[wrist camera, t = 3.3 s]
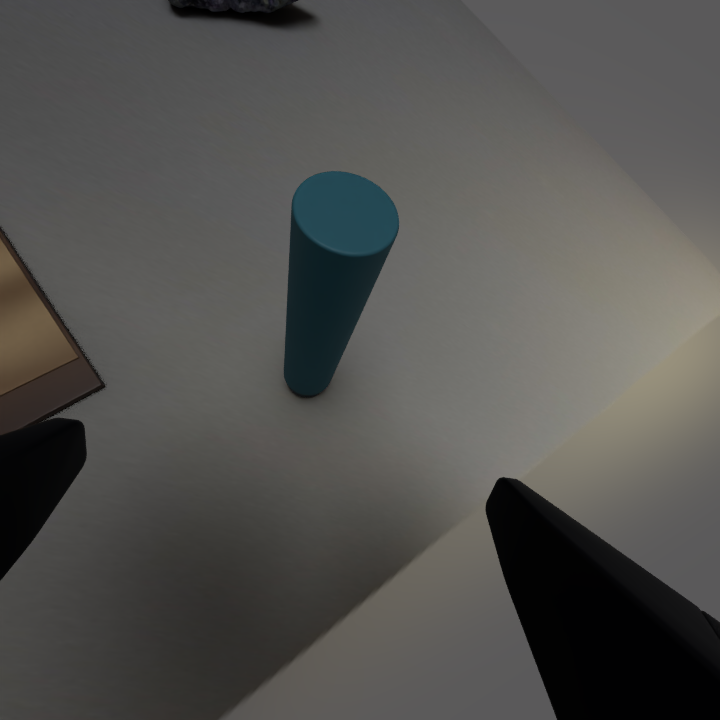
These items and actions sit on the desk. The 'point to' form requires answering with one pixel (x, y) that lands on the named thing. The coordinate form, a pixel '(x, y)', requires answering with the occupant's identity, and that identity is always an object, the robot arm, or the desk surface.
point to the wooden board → (35, 351)
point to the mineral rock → (234, 5)
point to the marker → (331, 271)
